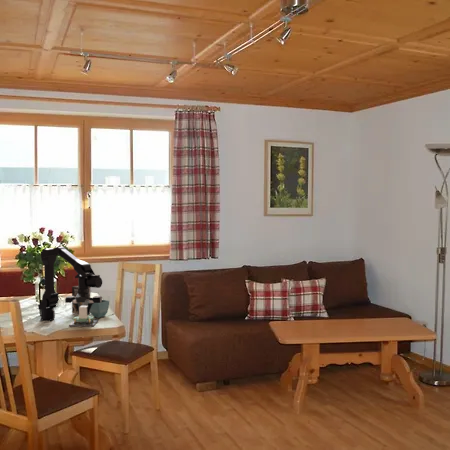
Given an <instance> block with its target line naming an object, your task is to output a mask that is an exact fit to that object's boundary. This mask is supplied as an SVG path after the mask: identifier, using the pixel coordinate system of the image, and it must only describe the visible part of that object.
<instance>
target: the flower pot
mask: <svg viewBox="0 0 450 450" xmlns="http://www.w3.org/2000/svg"><path fill="white" fill-rule="evenodd" d="M88 303H89V302H88ZM109 306H110V300H106V299H102V302H100V303H94V304H93V305H92V307H91V309H90V316H94V318H102V317H106V315H107V313H108V311H109Z"/></svg>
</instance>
